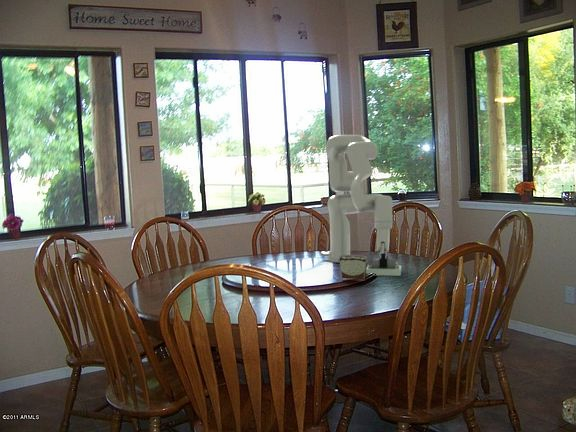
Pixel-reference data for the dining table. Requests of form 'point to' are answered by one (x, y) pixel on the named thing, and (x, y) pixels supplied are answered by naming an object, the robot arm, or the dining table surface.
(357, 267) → the food container
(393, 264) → the gray cylinder
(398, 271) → the sage trough
